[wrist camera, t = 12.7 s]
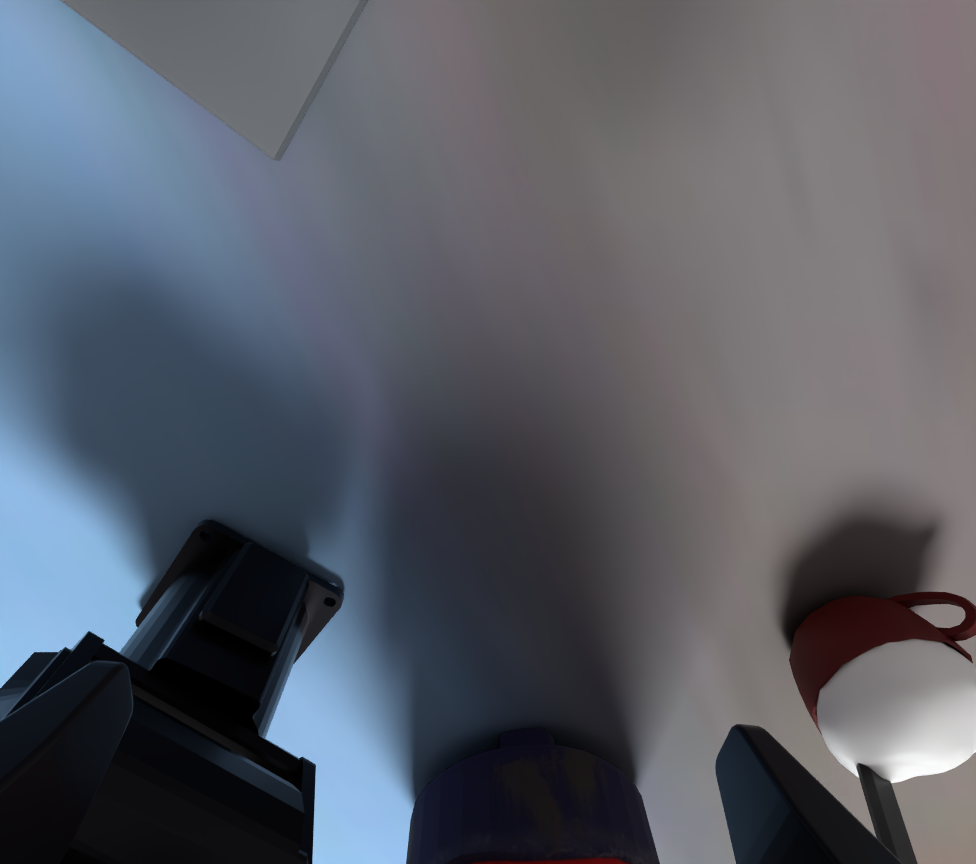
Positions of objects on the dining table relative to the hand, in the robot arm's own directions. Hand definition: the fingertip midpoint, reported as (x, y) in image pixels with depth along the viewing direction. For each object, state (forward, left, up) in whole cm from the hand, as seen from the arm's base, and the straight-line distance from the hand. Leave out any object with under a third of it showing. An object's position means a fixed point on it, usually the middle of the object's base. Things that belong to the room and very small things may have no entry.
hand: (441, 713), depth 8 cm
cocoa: (+1, -20, -13) cm, 24 cm away
